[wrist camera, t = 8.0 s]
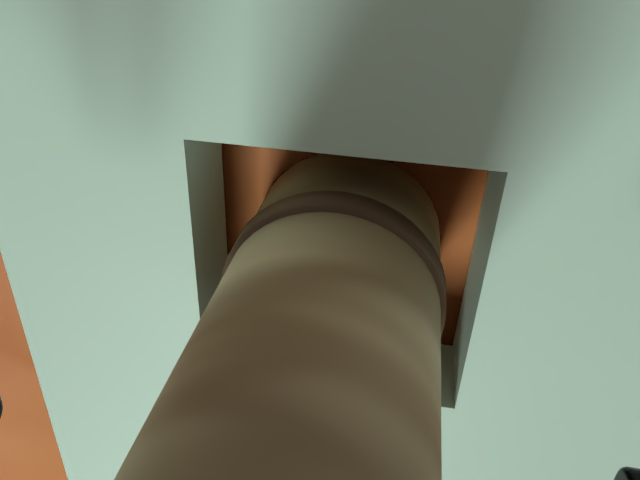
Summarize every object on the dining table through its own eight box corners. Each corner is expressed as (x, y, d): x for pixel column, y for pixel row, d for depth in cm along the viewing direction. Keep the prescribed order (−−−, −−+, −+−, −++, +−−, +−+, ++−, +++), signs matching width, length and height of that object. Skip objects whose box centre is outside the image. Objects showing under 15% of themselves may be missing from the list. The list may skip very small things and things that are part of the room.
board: (821, -47, 9) (911, -30, 7) (560, 550, 18) (573, 622, 16) (-16, -93, 11) (-100, -87, 9) (113, 471, 19) (83, 528, 18)
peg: (459, 157, 12) (488, 533, 5) (431, 321, 14) (424, 734, 7) (253, 137, 12) (29, 453, 6) (257, 298, 14) (102, 663, 8)
